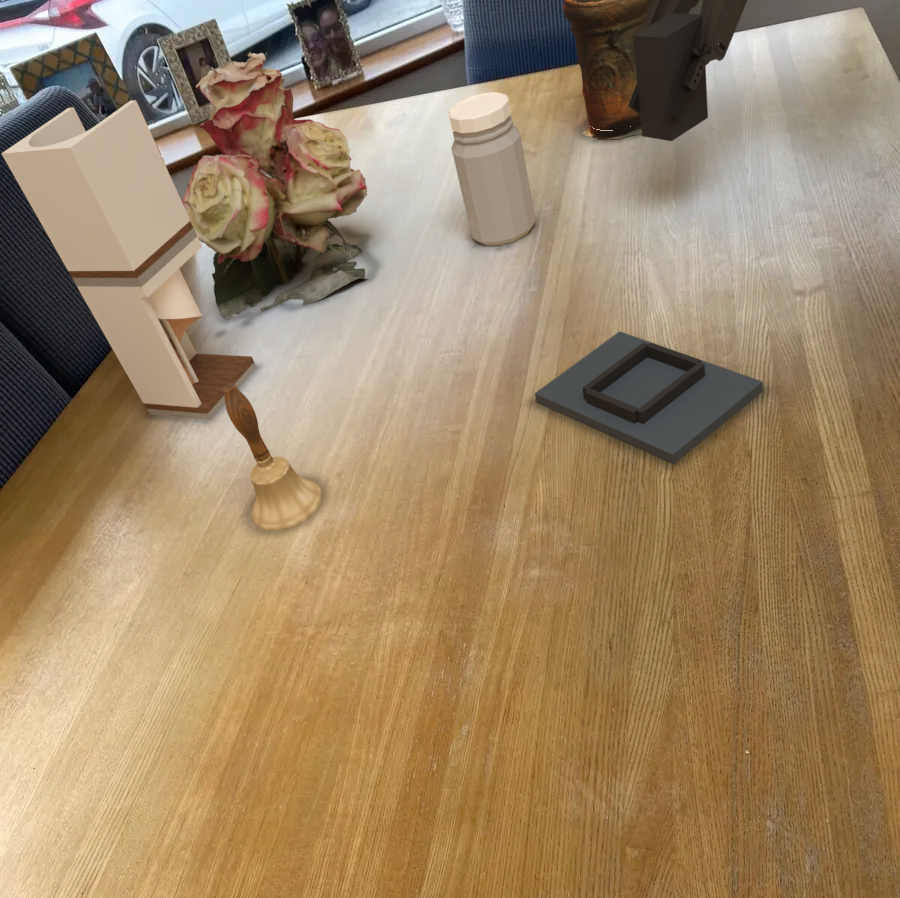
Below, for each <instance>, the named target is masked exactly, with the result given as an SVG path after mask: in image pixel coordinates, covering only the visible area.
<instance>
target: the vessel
mask: <svg viewBox="0 0 900 898" xmlns="http://www.w3.org/2000/svg"><path fill="white" fill-rule="evenodd" d="M651 2H652V0H563V7H562V9H563V14H564V17H565V19H567V21H568V22H569V23H570V25H571V27H570V32H571V33H572V34H573V36H574V40H575V47H576V55H577V61H578V64H579V68H580V73H581V82H582V88H581V89H582V91H581V93H582V97H583V100H584V106H585V111H586V117H587V122H588V129H587V130H586V131H583V132H582V133H583V135H585V136H586V137H590V138H596V139H597V140H606V141H609V140H622V139H624V138H626V137H632V136H638V135H642V128H641V118H640V115H639V114H638V113H636V112H635V111H634V110H632V109H631V108H630V107H629V106H628V105H629V102H630V100H631V97H632V95H633V92H634V89H635V87H636V84H637V80H636V65H635V54H634V44H633V35H635V34H636V33H638V32H640V30H641V27H642V25H643V22H644V20H645V17H646V15H647V12H648V10H649V7H650V5H651ZM590 126H591V127H590ZM630 126H631V127H630ZM592 127H593V128H595V129H593V128H592ZM596 129H600V130H613V131H600V130H596Z"/></svg>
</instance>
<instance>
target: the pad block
mask: <svg viewBox="0 0 900 898" xmlns="http://www.w3.org/2000/svg"><path fill="white" fill-rule="evenodd" d="M701 17H702V15H700V14H695V13H688V14H678V13H673V14H669V15H667V16H665V17H664V18H662V19H660V20H659V21H657V22H655V23H653V24H652V25H650V26H648V27H647V28H645V29H643V30H641V31H640V32H638V33H636V34H635V35H633V44H634V54H635V65H636V76H637V86H638V97H639V107H640V118H641V128H642V134H641V137H643V138H649V139H657V140H661V141H662V140H663V141H668V142H673V141H675V140H676V139H678V138H679V137H681V136H682V135H684V134H686V133H687V132H688V131H690V130H691V129H693V128H695V127H696V126H698V125H700V124H701V123H703V122H704V121H706V120H707V119H709V113H708V112H709V109H708V92H707V91H708V90H707V89H708V87H707V69H706V68H707V67H706V66H707V65H706V66H705V69H704V71H703V74H702V76H701V78H700V81H699V83H698V86H697V88H696V89H695V90H694V91H691V92H690V95H689V97H688V100H687V102H686V105H685V107H684V110H683V112H682V115H681V117H680V119H679V121H677V120H674V119H672V118H671V117H670V116H669V115H667V114H666V113H665V112H664V111H663V109H664V106H665V104H666V101H667V99H668V96H669V94H670V92H671V89H672V87H673V84H674V82H675V79H676V77H677V74H678V72H679V69H680V67H681V64H682V62H683V59H684V57H685V55H688V56H691V57H692V58H693V55H692V54H691V53H690V52H689V49H691V48H693V46H694V41H695V36H696V31H697V27H698V25H699V22H700V20H701Z"/></svg>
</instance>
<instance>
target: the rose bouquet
mask: <svg viewBox="0 0 900 898" xmlns="http://www.w3.org/2000/svg"><path fill="white" fill-rule="evenodd" d="M246 56H248V57H249V58H248V59H247V60H246V62H244V61H241V62H240V61H235V60H233V61H230V62H228V63H224V64H222V65H220V66H217V68H214V67H212V66H211V70H209V71H208V72H207V75H205V76H204V77H202V78H200V80H199V82H198V83H197V84H196V85H195V88H196V89H197V90H200V91H201V93H202V94H203V95H204V97H205V98H206V99H207V100H208V101H209V102H210V104H209V108H208V110H209V114H210V118H208V119H207V120H205V121H204V122H202V123H200V124H199V125H198V127H199V128H201V129H203V130H204V131H205V132H206V133H207V134H208V136H209V137H210V138H211V140H212V141H213V142H214V144H215V145H216V147H217V148H218V149H219V151H220V152H221V154H216V155H203V156H201V158H200V159H199V160H198V161H197V163H196V165H194V167H193V169H192V172H191V174H190V177H189V182H188V183H186V184H187V188H186V190H185V192H184V195H183V197H182V199H181V201H182V203H183V205H184V208H185V210H186V212H187V214H188V217H189V219H190V221H191V223H192V225H193V228H194V230H195V232H196V234H197V236H198V239H199V241H200V243H203V244H205V245H206V247H208V248H210V249H211V250H213V251H214V252H215V253H214V254H213V257H212V259H213V262H212V263H213V267H214V271H213V272H212V273H211V276H212V279H213V295H214V298H215V304H216V307H217V308H218V310H219V312H220V314H221V315H222V317H224V319H226V320H231V319H233V318H235V317H236V316H238V315H240V314H241V313H242V312H243V311H245V310H246V309H247V307H248V306H250V308H253V307H256V306H257V305H258V304H259V303H260V302H262V300H263V298H265V297H266V296H267V295H269V294H270V293H271V292H272V291H274V288H276V286H277V285H280V286H281V285H286V284H288V283H289V282H290V281H291V280H292V279H293V276H294V274H295V273H298V272H301V271H302V270H303V268H304V267H306V266H307V263H305V262H304V261H303V259H304V256H305V254H306V253H307V252H308V251H307V249H310V250H313V251H315V252H319V253H318V254H317V255H316V256H315V257H314V258H313V260H312V261H311V262H312V264H313V265H314V268H313V270H312V272H311V274H310V276H309V278H307V279H306V280H304V281H303V282H301V283H300V284H298V285H296V286H294V287H292V288H289V289H286V290H284V291H282V292H280V293H278V294H277V295H276V296H275V297H274V302H273V303H272V304H271V305H266V306H262V307H260V308H259V310H260V311H261V312H260V314H262V313H263V312H265V311H268V310H270V309H272V308H274V307H276V306H278V305H282V306H284V303H286V302H288V301H291V300H302V304H301V305H302V307H303V306H307V305H310V304H313V303H316V302H319V301H321V300H323V299H325V298H326V297H328V296H329V295H331V294H333V292H336V291H338V290H339V289H341V288H342V287H344V286H347V285H348V284H350V283H351V282H354V281H356V280H359V279H362V280H365V281H366V280H367V281H368V278H366V269H365V268H361V267H360V268H355V267H356V266H357V261H350V260H352V259H355V258H357V257H359V256H361V255H362V254H363V249H361V248H360V247H359V245H357V244H350V243H348V242H347V241H346V240H345V238H344V236H343V235H342V234H341V233H340V231H339V230H338V228H337V226H335V225H334V224H333V222H331V221H329V220H330V219H337V218H340V217H345V216H346V217H347V216H350V215H352V214H354V213H357V209H358V208H359V207H360V206H361V204H362V203H363V201H364V200H365V198H366V197H367V196H368V186H367V184H366V183H367V182H366V178H365V177H364V175H363V173H362V172H361V170H360V169H355V170H354V169H353V168H351V161H352V158H351V156H350V155H349V154H350V151H351V148H349V143H348V139H347V137H346V136H345V134H344V132H343V131H341V130H340V129H339V128H333V127H329V126H326V124H324V123H322V122H320V121H314V120H313V119H310V118H309V119H305V118H304V119H295V117H294V114H293V111H294V96H293V92H292V89H291V88H285V87H284V83H285V81H286V80H285V77H283V73H282V72H281V70H279V69H276V68H263V67H264V64H265V62H266V59H267V58H266V55H265V54H264V53H263V52H259V53H252V51H249V52H248V53H246ZM334 234H335V235H336V236H337V237H339V238H340V239H341V240H342V242H341V244H339V243H332V244H331V242H330V239H331V238H333V237H334ZM334 269H335V270H334Z"/></svg>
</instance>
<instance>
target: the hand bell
mask: <svg viewBox="0 0 900 898" xmlns="http://www.w3.org/2000/svg"><path fill="white" fill-rule="evenodd" d="M223 392H224V397H225V404H224V406H225V409H226V410H225V411H226V413H227V416H228V417H229V420H230V421H231V423H232V425H233V427H234V428H235V429H236V431H237V432H238V433H239V434H240V435H242V437H243V438H244V439H245V440H246V442H247V445H248V447H249V448H250V451H251V453H252V455H253V458H254V460H255V462H256V465H254V467H253V468H252V470H251V472H250V480H251V483H252V486H253V489H254V493H255V501H254V503H253V505H252V508H251V520H252V522H253V523H254V524H255V525H256V526H257V527H258V528H260V529H263V530H267V531H280V530H281V531H282V530H285V529H289V528H292V527H295V526H297V525H299V524H301V523H303V522H304V521H305V520H307V519H309V517H311V516H312V515H313V514H314V513H315V512H316V511H317V510H318V508H319V507H320V506H321V503H322V500H323V491H322V489H321V488H320V486H319V485H318V484H317V483H316V482H314V481H312V480H310V479H307V478H304V477H301V476H300V475H299V474H298V473H297V472H296V471H295V469H294V468H293V467H292V466H291V464H290V462H289V461H288V460H287V459H286V458H284V457H282V456H272V455H271V453H270V450H269V449H268V447H267V445H266V443H265V442H264V440H263V438H262V435H261V433H260V428H259V422H258V421H259V420H258V417H257V414H256V412H255V409H254V407H253V405H252V403H251V401H250V399H248V398H247V397H246V396H245V394H244V393H243V392H242V391H241V390H240V388H239V389H238V388H237V387H236V386H235V384H233V383H229V384H227V385H225V386H224V387H223Z"/></svg>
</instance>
